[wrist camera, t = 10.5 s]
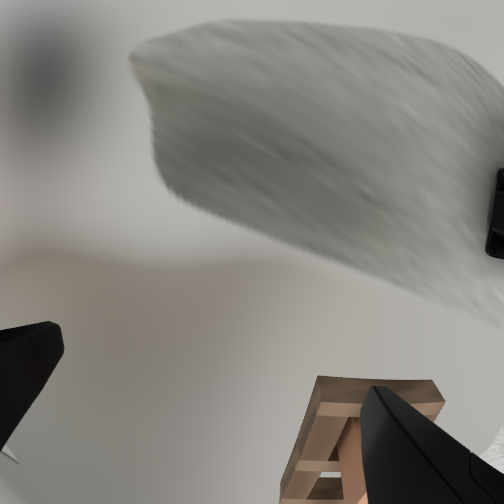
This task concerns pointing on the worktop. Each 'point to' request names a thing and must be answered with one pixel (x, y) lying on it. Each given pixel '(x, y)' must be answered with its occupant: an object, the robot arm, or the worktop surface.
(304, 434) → the socket block
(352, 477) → the tan rectangular block
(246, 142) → the worktop surface
